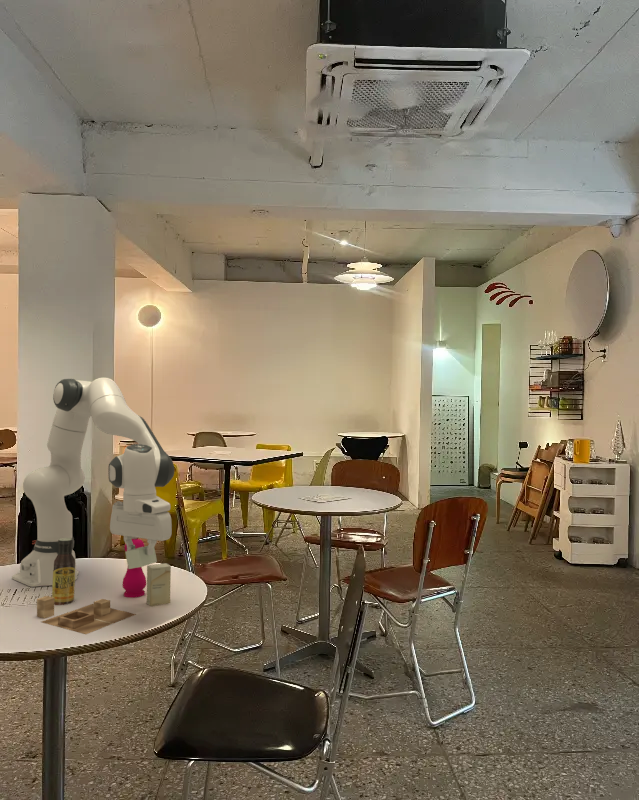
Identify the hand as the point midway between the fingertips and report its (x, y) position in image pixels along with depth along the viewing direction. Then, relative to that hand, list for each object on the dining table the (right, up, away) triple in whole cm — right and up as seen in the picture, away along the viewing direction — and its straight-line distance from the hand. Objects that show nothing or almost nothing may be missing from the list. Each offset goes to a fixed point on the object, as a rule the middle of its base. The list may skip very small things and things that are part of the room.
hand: (140, 553), depth 183 cm
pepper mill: (-8, -19, +23) cm, 31 cm away
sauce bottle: (-27, -19, +15) cm, 37 cm away
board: (-15, -19, +1) cm, 24 cm away
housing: (+1, -3, 0) cm, 3 cm away
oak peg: (-28, -19, +3) cm, 34 cm away
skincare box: (+1, -20, +15) cm, 25 cm away
